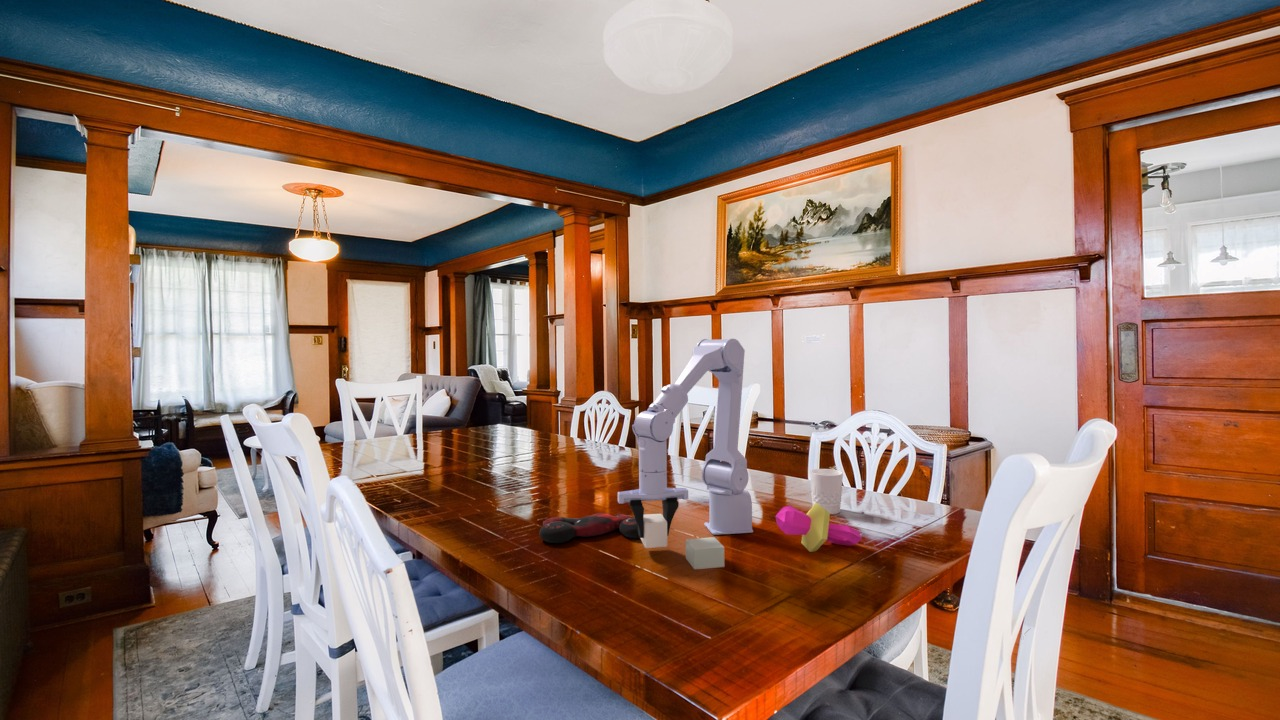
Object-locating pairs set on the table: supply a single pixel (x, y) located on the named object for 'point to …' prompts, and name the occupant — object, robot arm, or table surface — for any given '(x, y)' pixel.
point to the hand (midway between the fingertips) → (653, 535)
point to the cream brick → (654, 531)
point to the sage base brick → (704, 553)
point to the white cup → (827, 489)
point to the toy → (815, 527)
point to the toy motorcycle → (587, 527)
